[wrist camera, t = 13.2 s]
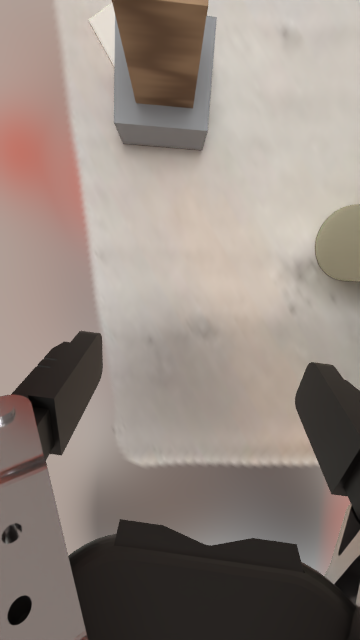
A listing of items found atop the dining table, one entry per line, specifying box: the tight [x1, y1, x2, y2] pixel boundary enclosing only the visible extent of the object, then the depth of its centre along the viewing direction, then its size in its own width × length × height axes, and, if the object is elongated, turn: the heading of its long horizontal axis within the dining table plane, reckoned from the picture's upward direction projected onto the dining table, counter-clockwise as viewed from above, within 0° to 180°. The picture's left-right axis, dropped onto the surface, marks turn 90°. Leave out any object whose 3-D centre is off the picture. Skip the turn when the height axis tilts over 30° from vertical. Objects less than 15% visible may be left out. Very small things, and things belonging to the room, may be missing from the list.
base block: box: [114, 16, 217, 150], centre depth 28 cm, size 9×9×5 cm
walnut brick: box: [112, 0, 208, 108], centre depth 20 cm, size 5×5×11 cm
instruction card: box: [89, 3, 115, 67], centre depth 28 cm, size 10×8×1 cm
